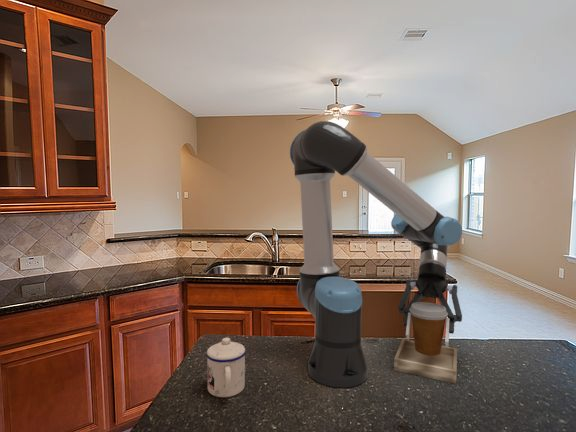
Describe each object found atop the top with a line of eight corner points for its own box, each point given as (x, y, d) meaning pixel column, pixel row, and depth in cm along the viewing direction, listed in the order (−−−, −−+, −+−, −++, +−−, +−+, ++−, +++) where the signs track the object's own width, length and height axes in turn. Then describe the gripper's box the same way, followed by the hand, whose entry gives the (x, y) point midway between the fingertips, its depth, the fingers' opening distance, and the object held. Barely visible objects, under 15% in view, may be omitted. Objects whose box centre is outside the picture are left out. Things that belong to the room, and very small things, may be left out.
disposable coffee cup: (451, 360, 86) (452, 313, 86) (411, 356, 88) (412, 311, 88) (442, 344, 96) (443, 302, 95) (406, 341, 97) (407, 300, 97)
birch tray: (393, 370, 89) (393, 358, 88) (402, 348, 102) (402, 338, 101) (456, 384, 82) (456, 371, 82) (456, 359, 95) (457, 348, 95)
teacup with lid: (206, 380, 83) (206, 333, 83) (243, 375, 86) (243, 330, 85) (206, 409, 72) (206, 354, 71) (249, 403, 74) (249, 350, 73)
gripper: (472, 279, 100) (473, 354, 86) (396, 272, 110) (386, 339, 96) (473, 264, 95) (474, 342, 81) (393, 258, 105) (382, 327, 91)
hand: (426, 340), depth 89 cm, fingers closed on disposable coffee cup, 9 cm apart
